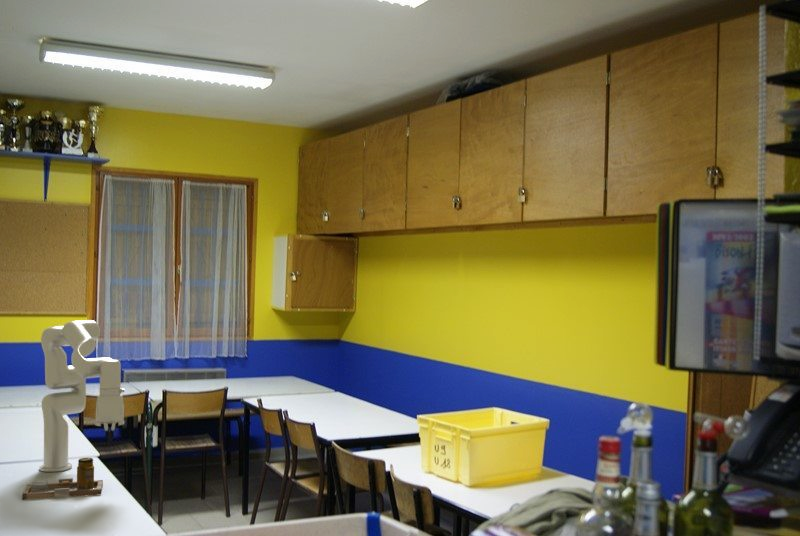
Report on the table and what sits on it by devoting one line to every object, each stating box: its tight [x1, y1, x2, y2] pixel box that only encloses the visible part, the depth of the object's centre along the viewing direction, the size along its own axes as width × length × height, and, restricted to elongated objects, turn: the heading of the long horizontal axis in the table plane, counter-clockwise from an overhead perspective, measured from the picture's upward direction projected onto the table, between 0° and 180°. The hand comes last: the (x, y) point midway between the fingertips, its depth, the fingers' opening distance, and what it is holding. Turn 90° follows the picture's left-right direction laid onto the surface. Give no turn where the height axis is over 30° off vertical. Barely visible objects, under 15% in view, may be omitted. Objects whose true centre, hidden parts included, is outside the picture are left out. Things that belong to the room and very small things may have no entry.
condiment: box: [73, 457, 95, 490], centre depth 315 cm, size 7×8×12 cm
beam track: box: [21, 477, 104, 501], centre depth 313 cm, size 16×27×4 cm, turn 107°
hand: (109, 440), depth 318 cm, fingers closed
